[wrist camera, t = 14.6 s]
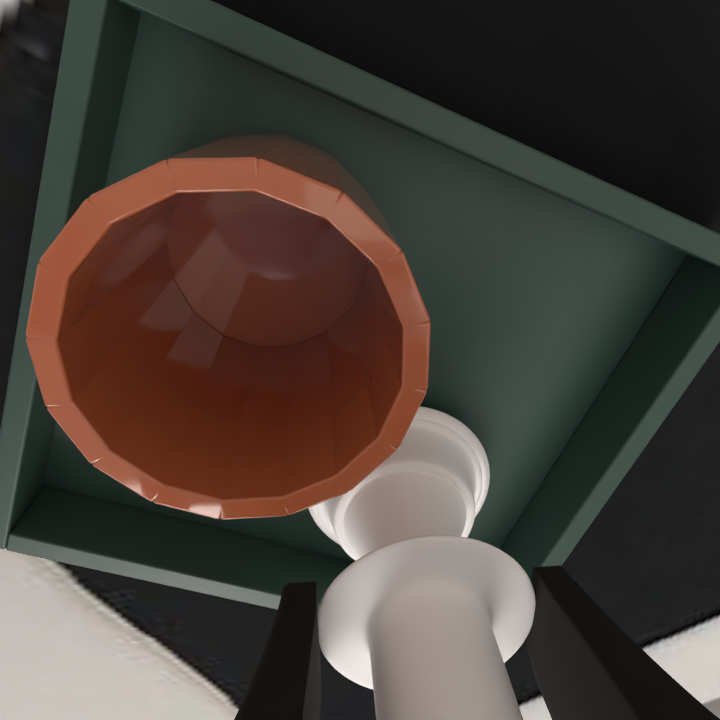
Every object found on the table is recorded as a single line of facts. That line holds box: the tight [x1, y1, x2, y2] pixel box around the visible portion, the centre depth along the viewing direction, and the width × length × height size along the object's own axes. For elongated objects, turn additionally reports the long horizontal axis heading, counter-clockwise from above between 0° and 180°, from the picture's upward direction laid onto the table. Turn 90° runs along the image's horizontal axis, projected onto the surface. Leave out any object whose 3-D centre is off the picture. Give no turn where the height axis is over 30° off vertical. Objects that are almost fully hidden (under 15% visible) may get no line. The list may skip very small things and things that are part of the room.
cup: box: [26, 133, 431, 520], centre depth 11 cm, size 5×5×6 cm
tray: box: [0, 0, 720, 609], centre depth 14 cm, size 15×14×2 cm
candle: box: [308, 406, 536, 720], centre depth 11 cm, size 5×5×12 cm
